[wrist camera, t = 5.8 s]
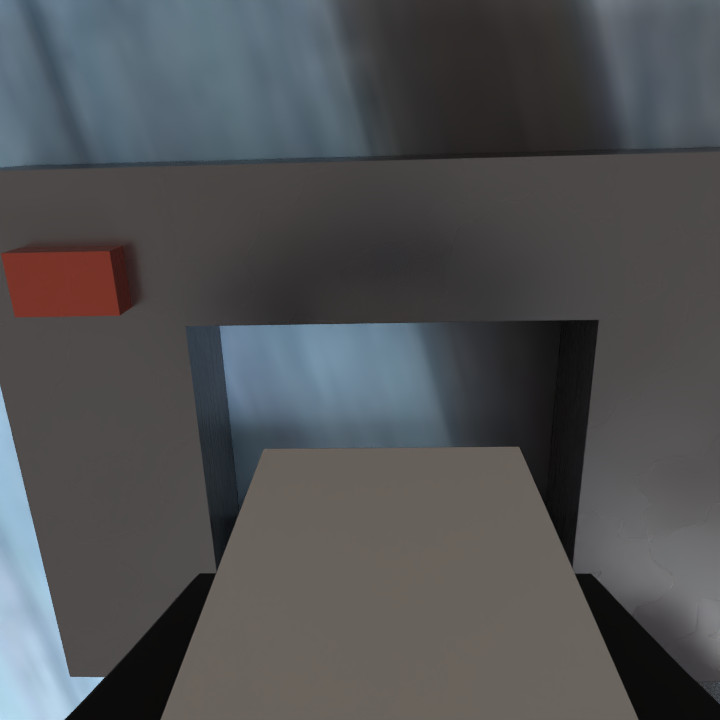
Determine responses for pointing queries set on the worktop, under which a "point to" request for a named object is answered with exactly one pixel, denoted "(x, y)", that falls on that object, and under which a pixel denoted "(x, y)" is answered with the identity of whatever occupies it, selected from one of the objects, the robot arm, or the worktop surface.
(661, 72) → the worktop surface
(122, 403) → the socket plate
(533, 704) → the plug
